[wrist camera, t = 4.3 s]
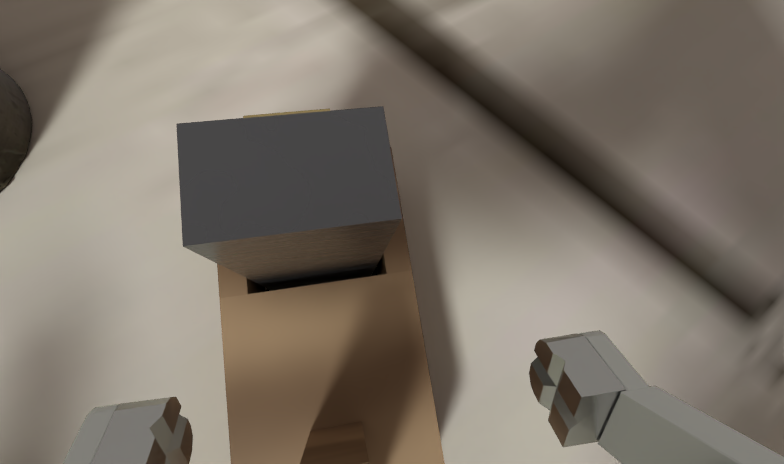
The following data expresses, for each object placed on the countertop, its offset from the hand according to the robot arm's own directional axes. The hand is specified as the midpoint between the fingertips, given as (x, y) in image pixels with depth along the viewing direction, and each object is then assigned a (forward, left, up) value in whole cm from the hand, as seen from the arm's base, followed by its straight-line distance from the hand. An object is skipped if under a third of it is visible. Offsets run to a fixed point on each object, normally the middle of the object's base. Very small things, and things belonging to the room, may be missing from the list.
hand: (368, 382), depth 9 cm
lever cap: (+5, 0, -12) cm, 13 cm away
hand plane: (+2, +1, -11) cm, 12 cm away
